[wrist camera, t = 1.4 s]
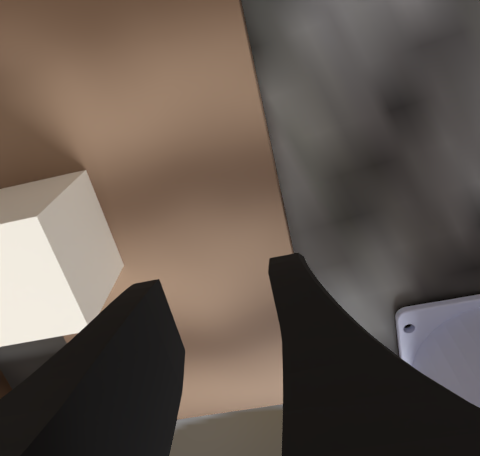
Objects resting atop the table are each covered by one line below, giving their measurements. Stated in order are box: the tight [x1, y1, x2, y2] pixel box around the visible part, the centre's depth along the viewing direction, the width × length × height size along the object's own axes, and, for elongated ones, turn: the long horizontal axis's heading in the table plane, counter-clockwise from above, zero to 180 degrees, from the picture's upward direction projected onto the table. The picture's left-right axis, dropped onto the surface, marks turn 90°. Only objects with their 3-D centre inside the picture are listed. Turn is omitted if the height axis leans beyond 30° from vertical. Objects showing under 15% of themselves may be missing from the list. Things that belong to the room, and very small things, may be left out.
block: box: [0, 170, 124, 347], centre depth 15 cm, size 4×4×4 cm
